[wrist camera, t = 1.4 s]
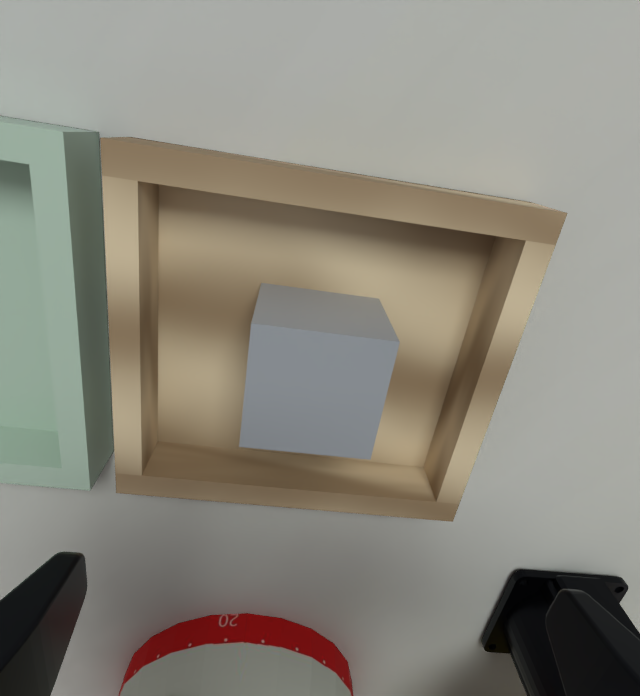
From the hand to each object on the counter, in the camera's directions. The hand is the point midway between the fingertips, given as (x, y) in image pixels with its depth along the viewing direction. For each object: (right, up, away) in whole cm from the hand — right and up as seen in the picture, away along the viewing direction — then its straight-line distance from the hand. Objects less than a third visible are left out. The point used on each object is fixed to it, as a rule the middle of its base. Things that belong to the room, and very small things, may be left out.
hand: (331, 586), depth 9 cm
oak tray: (-1, +5, +10) cm, 11 cm away
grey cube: (-1, +5, +10) cm, 11 cm away
